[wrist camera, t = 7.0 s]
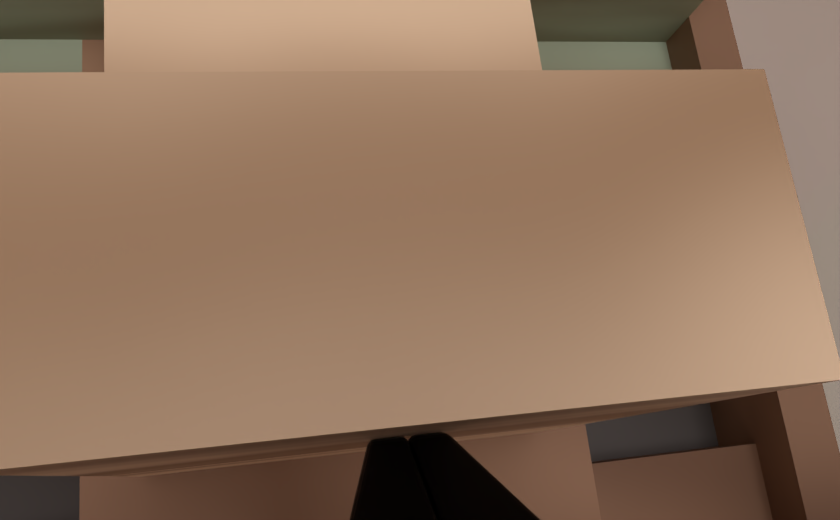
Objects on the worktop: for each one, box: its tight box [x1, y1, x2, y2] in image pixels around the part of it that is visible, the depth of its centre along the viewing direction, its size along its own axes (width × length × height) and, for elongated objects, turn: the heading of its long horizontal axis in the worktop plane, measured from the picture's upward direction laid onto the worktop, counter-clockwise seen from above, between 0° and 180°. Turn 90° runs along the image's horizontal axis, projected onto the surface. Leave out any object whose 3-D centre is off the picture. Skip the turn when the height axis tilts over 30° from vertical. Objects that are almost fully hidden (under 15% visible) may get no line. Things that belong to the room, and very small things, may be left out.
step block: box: [0, 0, 840, 477], centre depth 10 cm, size 8×7×8 cm
